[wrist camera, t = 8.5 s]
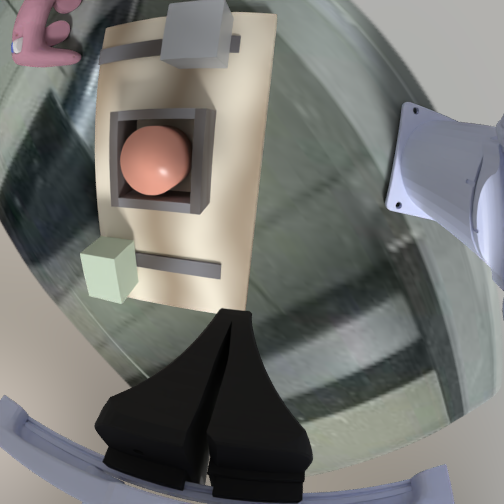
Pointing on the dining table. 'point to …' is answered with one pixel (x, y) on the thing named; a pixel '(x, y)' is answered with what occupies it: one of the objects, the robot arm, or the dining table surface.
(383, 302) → the dining table surface
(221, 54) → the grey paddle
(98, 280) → the pale green block
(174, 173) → the pink round button
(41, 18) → the video game controller
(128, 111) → the control board
